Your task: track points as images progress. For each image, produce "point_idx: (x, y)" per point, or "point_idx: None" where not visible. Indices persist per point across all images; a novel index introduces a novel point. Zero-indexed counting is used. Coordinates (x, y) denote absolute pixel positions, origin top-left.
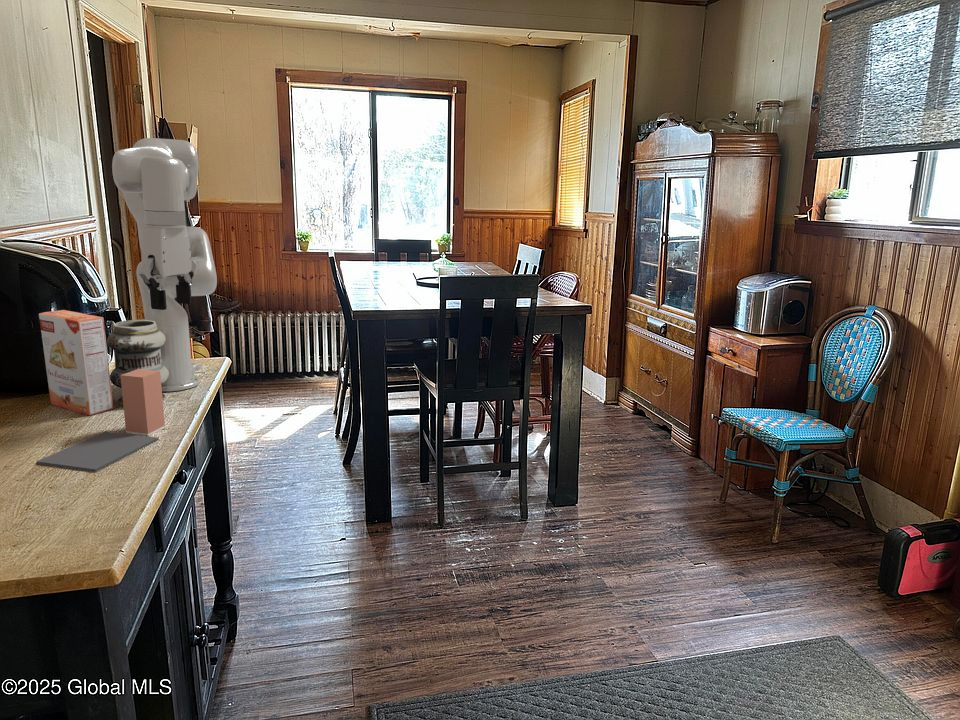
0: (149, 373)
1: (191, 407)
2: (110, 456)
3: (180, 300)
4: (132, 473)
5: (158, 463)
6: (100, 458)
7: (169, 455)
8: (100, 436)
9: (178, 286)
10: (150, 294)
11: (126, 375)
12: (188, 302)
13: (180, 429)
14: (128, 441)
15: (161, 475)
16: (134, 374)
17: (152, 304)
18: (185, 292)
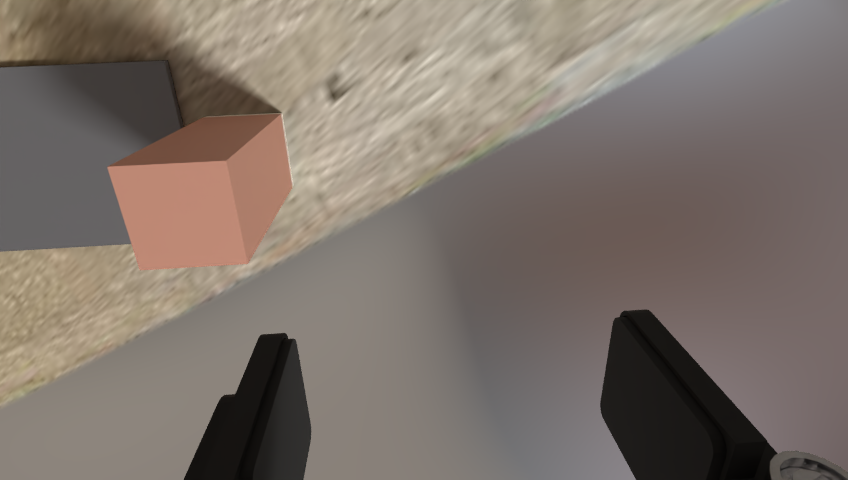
0: (197, 252)
1: (476, 133)
2: (47, 224)
3: (619, 359)
4: (32, 320)
5: (104, 330)
6: (22, 213)
7: (151, 321)
8: (124, 85)
9: (699, 464)
10: (220, 437)
11: (120, 192)
12: (603, 413)
13: (300, 232)
14: None
15: (65, 373)
16: (150, 211)
17: (222, 398)
18: (650, 470)
